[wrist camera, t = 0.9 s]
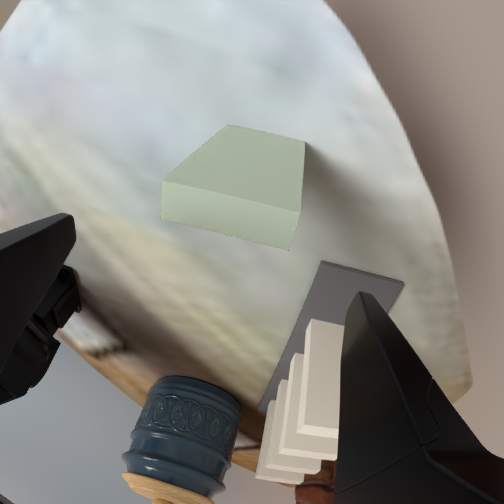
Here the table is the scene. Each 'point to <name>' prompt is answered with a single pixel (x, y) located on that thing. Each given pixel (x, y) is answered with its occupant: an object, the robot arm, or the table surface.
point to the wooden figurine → (318, 485)
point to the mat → (329, 310)
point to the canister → (182, 442)
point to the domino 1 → (239, 186)
